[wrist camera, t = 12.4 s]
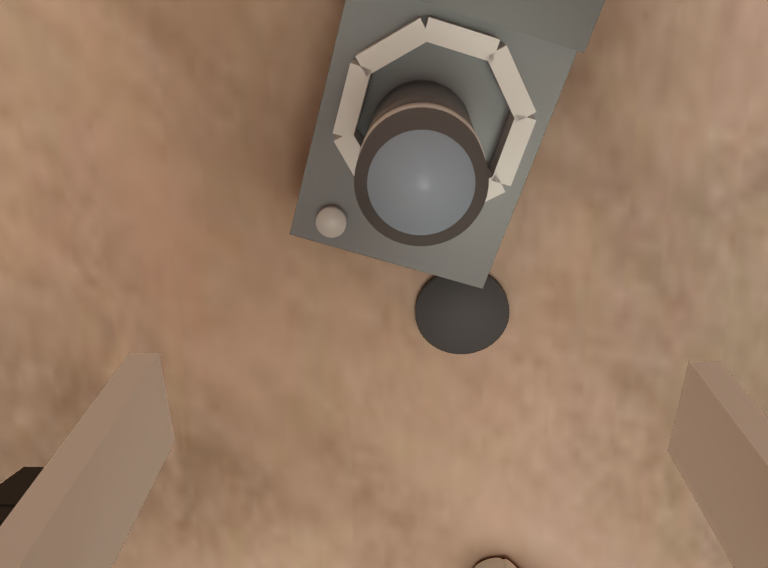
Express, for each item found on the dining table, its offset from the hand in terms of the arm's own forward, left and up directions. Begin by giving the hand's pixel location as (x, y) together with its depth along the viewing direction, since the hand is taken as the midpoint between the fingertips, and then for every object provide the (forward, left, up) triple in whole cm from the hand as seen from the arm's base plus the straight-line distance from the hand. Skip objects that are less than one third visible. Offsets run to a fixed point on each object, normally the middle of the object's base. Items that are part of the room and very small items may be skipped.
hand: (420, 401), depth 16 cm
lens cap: (+6, -9, -24) cm, 26 cm away
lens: (-1, +3, -19) cm, 19 cm away
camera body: (0, +3, -24) cm, 24 cm away
